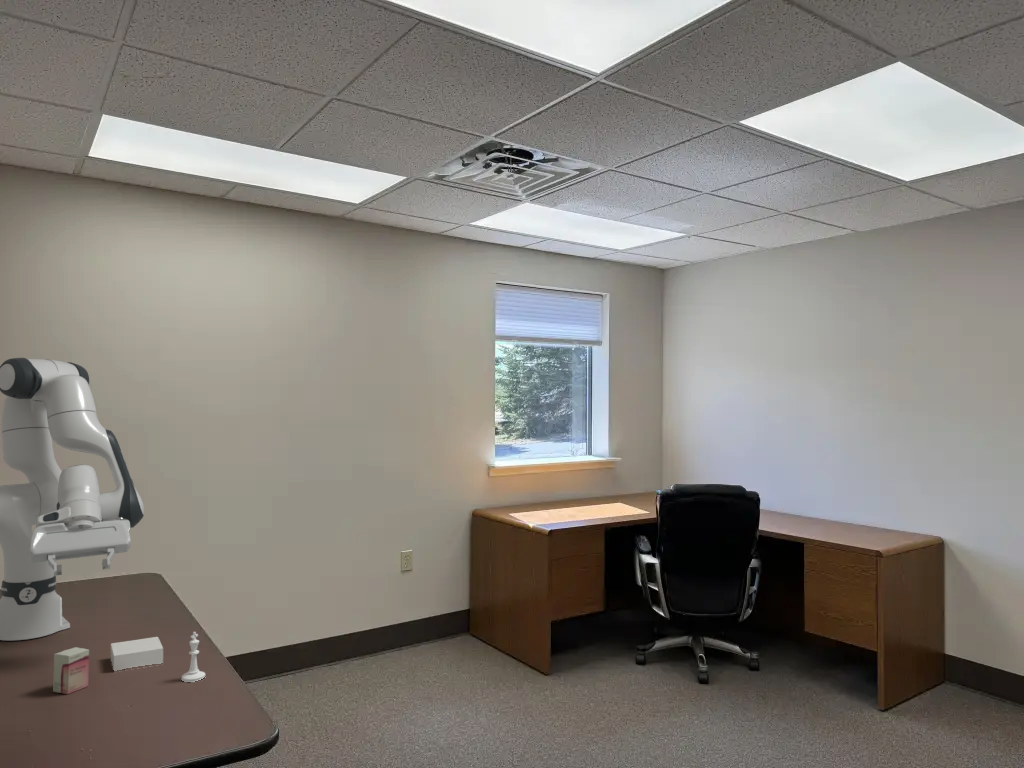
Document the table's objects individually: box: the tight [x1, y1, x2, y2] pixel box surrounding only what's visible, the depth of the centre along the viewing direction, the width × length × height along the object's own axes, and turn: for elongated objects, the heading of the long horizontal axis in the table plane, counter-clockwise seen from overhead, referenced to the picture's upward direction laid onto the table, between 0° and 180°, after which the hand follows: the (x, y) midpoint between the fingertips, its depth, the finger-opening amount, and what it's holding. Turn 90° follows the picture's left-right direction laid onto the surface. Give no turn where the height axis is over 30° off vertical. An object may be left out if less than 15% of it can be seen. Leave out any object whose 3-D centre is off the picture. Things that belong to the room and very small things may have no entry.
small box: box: [52, 646, 90, 695], centre depth 154 cm, size 5×4×8 cm
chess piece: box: [180, 631, 206, 683], centre depth 161 cm, size 5×5×10 cm
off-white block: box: [110, 636, 164, 671], centre depth 171 cm, size 10×10×4 cm
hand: (82, 570), depth 166 cm, fingers open, 8 cm apart
